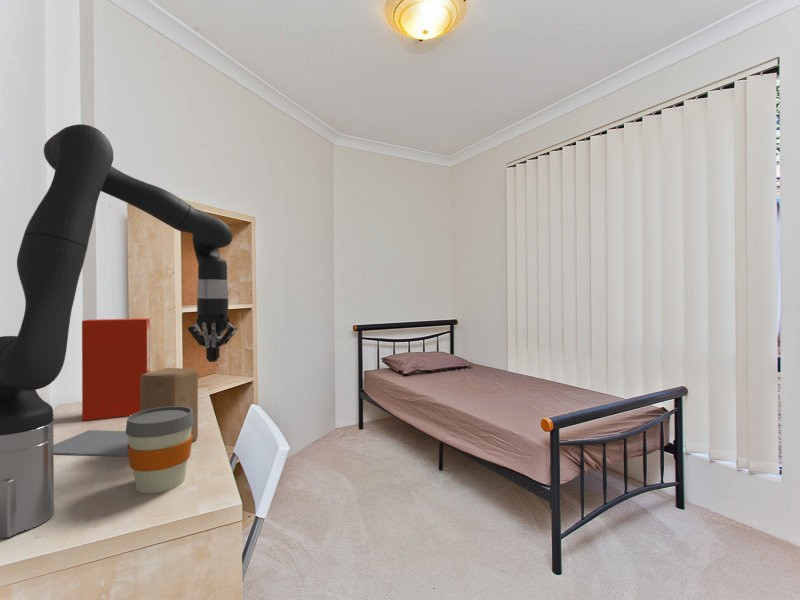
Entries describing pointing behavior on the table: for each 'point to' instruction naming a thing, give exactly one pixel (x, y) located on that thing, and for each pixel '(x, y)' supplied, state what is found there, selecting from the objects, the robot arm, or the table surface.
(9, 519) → the robot arm
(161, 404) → the wooden block
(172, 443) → the reusable coffee cup
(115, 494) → the table surface
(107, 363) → the file binder
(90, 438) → the mat
